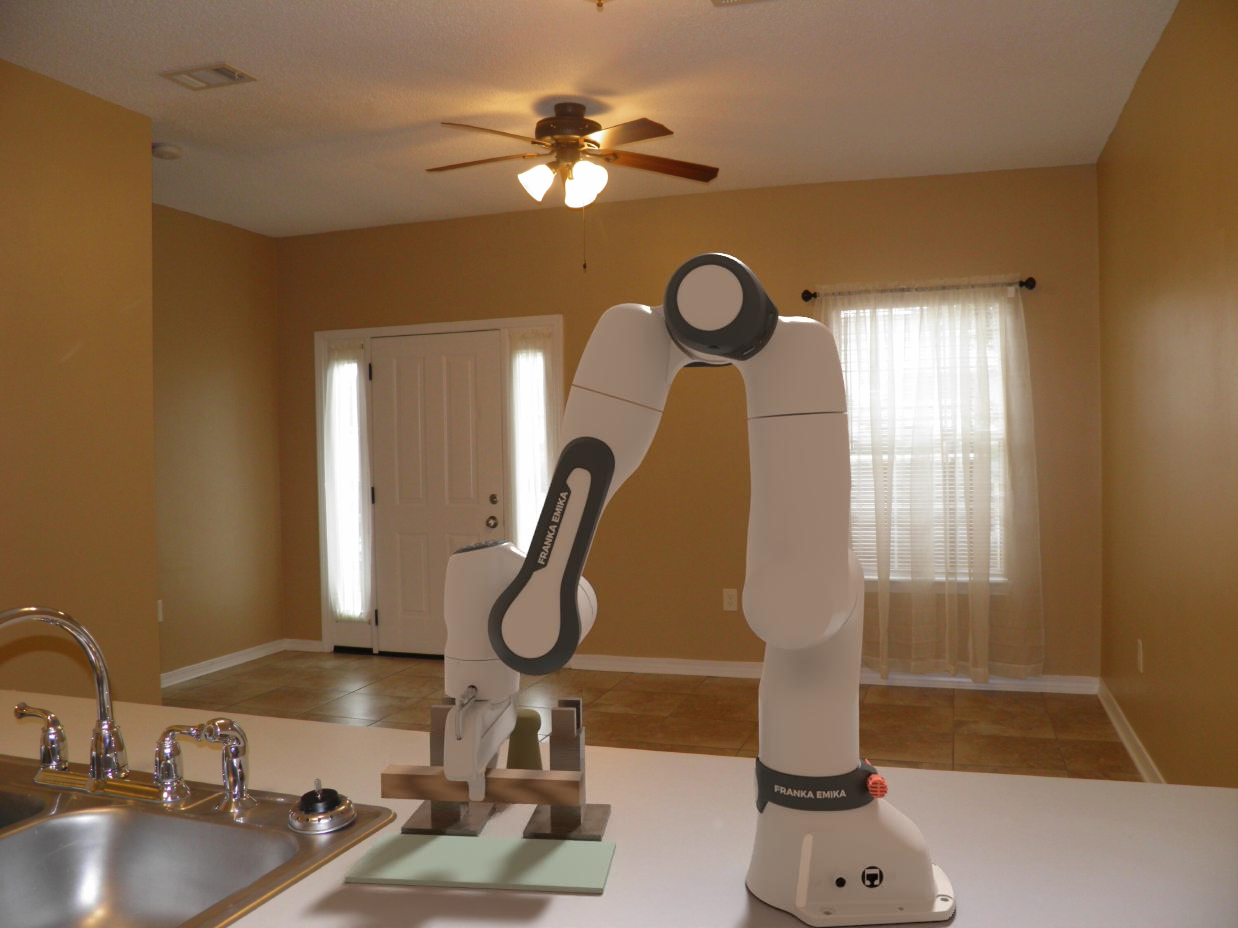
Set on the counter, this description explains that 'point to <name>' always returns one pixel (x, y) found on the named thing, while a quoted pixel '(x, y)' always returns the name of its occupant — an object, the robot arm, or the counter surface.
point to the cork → (525, 742)
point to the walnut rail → (500, 785)
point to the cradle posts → (545, 819)
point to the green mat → (486, 863)
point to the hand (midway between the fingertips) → (483, 791)
